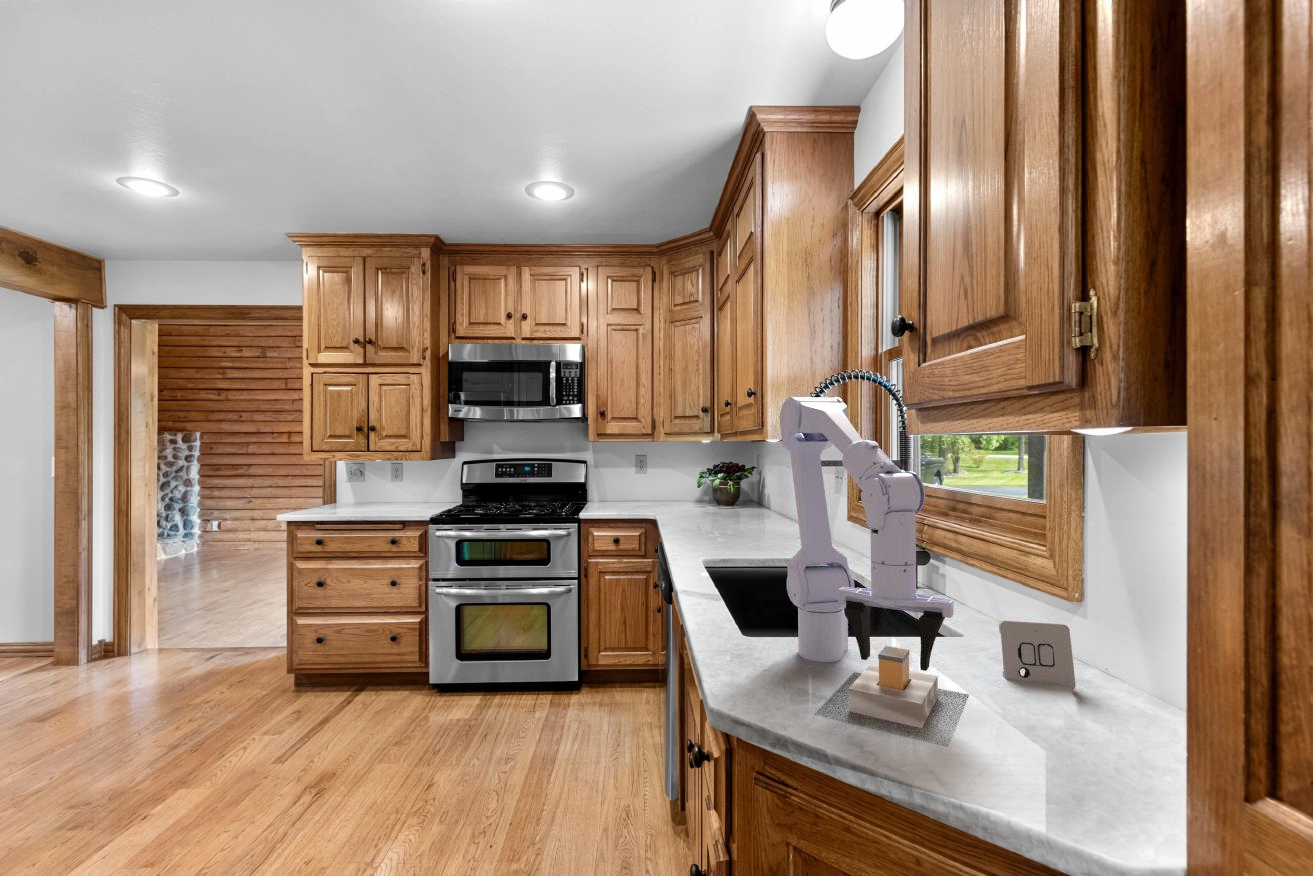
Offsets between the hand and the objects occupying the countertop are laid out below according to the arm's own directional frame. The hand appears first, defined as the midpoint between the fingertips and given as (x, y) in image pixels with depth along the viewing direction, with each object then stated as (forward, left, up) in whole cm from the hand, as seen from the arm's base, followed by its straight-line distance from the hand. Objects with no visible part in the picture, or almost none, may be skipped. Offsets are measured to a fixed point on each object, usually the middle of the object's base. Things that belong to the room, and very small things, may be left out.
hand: (894, 663), depth 84 cm
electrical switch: (-22, +15, -7) cm, 28 cm away
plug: (0, 0, -6) cm, 6 cm away
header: (0, 0, -7) cm, 7 cm away
